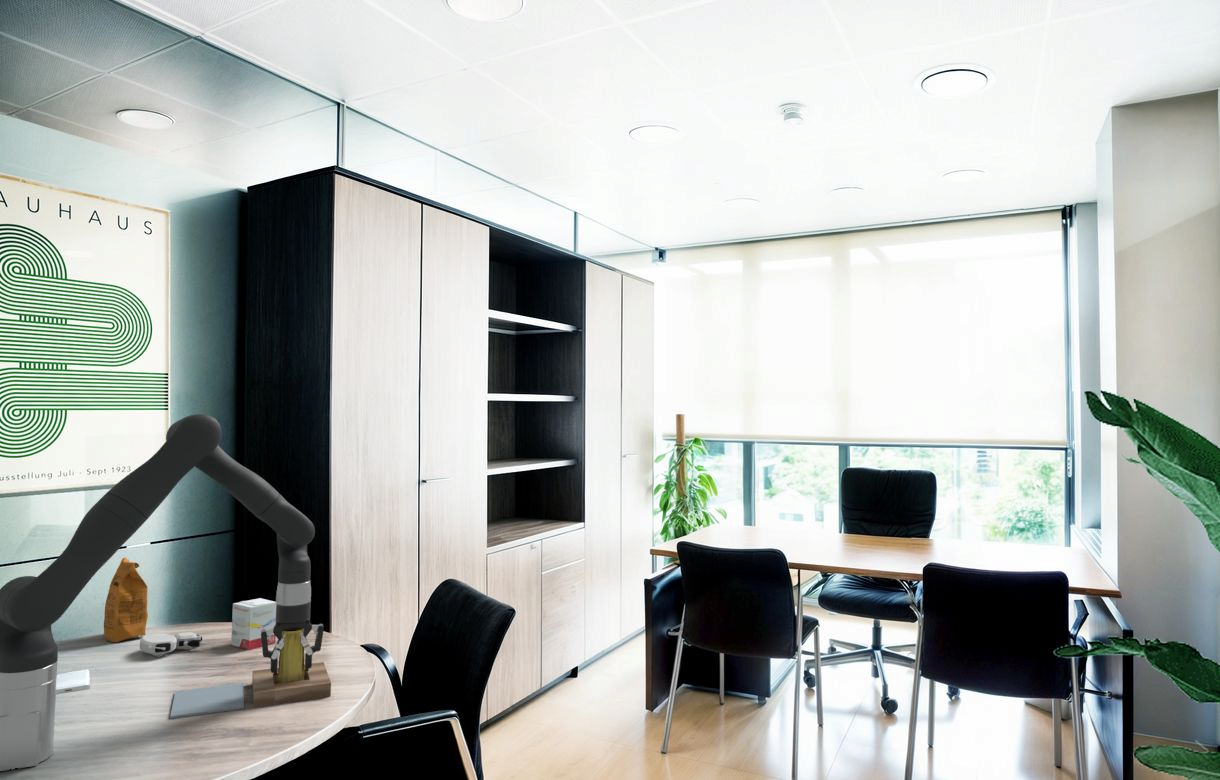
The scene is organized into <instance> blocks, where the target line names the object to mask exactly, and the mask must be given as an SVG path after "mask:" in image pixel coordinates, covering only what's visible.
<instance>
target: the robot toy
mask: <svg viewBox="0 0 1220 780" xmlns="http://www.w3.org/2000/svg"><path fill="white" fill-rule="evenodd" d="M137 638H140V641H139V650H140V651H142V652H143V653H146V654H149V655H152V656H154V657H162V656H164V655H166V653H171V652H174V650H175V649H178V650H186V651H188V650H192V649H193V648H200V646H206V645H207V641H206V640H203V636H202V635H200V634H198V633H194V632H191V631H190V632H188V631H187V632H180V633H177V634H175V635H172V634H169V633H154V634H152V633H151V634H145V635H143V636H138V637H137Z"/></svg>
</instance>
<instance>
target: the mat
mask: <svg viewBox="0 0 1220 780" xmlns="http://www.w3.org/2000/svg"><path fill="white" fill-rule="evenodd" d="M244 696H245V695H244V683H243V682H237V683H230V684H223V685H214V686H206V687H198V688H191V689H183V690H175V691H174V696H173V701H172V705H171V710H170V715H169V719H170V720H171V719H178V718H179V719H180V718H188V717H192V716H201V715H207V714H214V713H221V712H229V711H234V710H235V711H236V710H242V709H245V701H244V698H245V697H244Z"/></svg>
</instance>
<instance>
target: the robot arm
mask: <svg viewBox="0 0 1220 780" xmlns="http://www.w3.org/2000/svg"><path fill="white" fill-rule="evenodd" d="M222 433H223V431H222V427H221V424H220V423H219V421H218V420H217V419H216V418H215V417H213V416H211V415H208V414H205V413H204V414H201V413H199V414H198V413H196V414H191V415H188V416H185V417H183V418H180V419H178V420H177V421H175V422H174V423H172V424H171V425H170V426H169V428H168V429H167V431H166V434H165V442H164V443H163V445H162V446H161V447H160V448H159V449H158V450H157V451H156V452H155V453H154V454H153V455H152V456H151V457H150V458H149V459H148V460H147V461H145V462H144V463H143V464H141V465H140V466H138V467H137V468H136V469H134V470H133V471H131V472H130V473H129V474H127V475H126V476H125V477H123V478H122V479H120V481H118V482H117V483H116V484H114V486H112V487H111V488H110V489H109V490H108V491H107V492H106V493H105V494H104V495H102V497H101V498H100V499H99V500H97V501H96V503H95V504H94V505H92V507H91V508H90V509H89V510H88V511H87V513H86V514H85V515H84V516H83V518H82V520H81V521H80V523H79V525H78V526H77V529H76V530H75V532H74V534H73V535H72V537H71V540H70V541H69V543H68V544H67V546H66V547H65V549H64V550H63V551H62V552H61V553H60V555H59V556H58V557H57V558H56V559H55V560H54V561H53V562H51V564H50V565H48V567H46V568H45V570H43V571H42V572H41V573H40V574H39V575H37V576H35V575H24V576H19V577H16V578H13V579H11V580H9V581H8V582H7V583H5V584H4V585H3V586H2V587H0V772H3V771H10V769H11V770H16V769H15V768H18V769H23V768H28V767H35V766H38V765H39V763H41V762H43V761H45V760H47V759H49V758H50V757H51V756H52V755H53V754H54V740H55V720H56V719H55V717H56V696H57V694H56V678H57V674H58V656H59V648H58V645H57V643H56V641H55V639H54V636H53V632H52V631H53V630H52V625H53V624H55V623H56V622H57V621H58V620H59V619H60V618H61V617H62V616H63V615H64V614H65V613H66V611H67V610H68V609H69V607H70V606H71V605H72V604H73V602H74V601H75V599H77V597H78V596H79V595H80V593H81V592H82V591H83V589H84V588H85V587H86V586H87V584H89V582H90V580H92V578H93V577H94V576H95V575H96V573H97V572H98V571H100V569H101V568H102V567H103V566H104V565H105V564H106V563H107V562H108V561H109V560H110V559H111V558H112V557H113V556H114V555H115V554H116V553H117V552H118V551H119V550H120V548H121V547H122V546H123V545H124V544H125V543H126V542H128V540H129V539H131V537H132V536H134V534H135V533H136V532H137V531H138V530H139V529H140V528H141V527H142V525H144V523H145V522H146V521H148V519H150V517H151V516H152V515H153V513H154V512H155V511H156V510H157V509H158V508H159V506H161V504H162V503H163V502H164V501H165V500H166V498H167V497H168V496H169V495H170V493H171V492H172V491H173V490H174V488H175V487H176V486H177V484H179V483H180V481H182V479H183V478H184V477H185V476H186V475H187V474H188V473H189V472H190V471H191V470H192V469H194V467H195V468H197V469H198V470H199V471H201V472H203V473H204V474H205V475H206V476H208V477H209V478H210V479H212V480H213V481H215V482H216V483H217V484H219V486H221V487H222V488H223V489H225V490H226V491H227V492H228V493H229V494H230V495H231V496H233V498H235V499H236V500H237V501H239V503H241V505H243V506H244V507H245V508H246V509H247V510H248V511H250V512H251V513H252V514H253V516H255V517H256V518H258V519H259V520H260V521H261V522H263V523H266V524H267V525H268V526H269V527H270V528H271V529H272V530H273V531H274V532H275V533H276V543H277V553H278V554H277V555H278V572H277V573H278V576H277V577H278V579H277V589H276V596H275V602H276V623H275V626H274V628H273V629H269V630H265V629H262V630H261V641H262V648H261V650H262V651H261V652H262V656H263V658H268V659H270V669H271V673H274V675H277V668H278V667H279V657H278V656H279V655H280V651H281V650H282V648H283V646H284V638H285V634H284V635H283V636H282V631H297V630H301V629H304V635H303V633H302V631H301V643H302V645H303V647H304V651H305V652H304V664H305V671H309V668H311V666H312V663H313V662H312V661H313V654H314V653H317V652H321V650H322V644H323V636H324V631H325V630H324V629H325V627H324V624H323V623H319V624H312V622H311V604H312V603H311V602H312V599H311V598H312V585H311V570H312V569H311V566H312V564H311V559H310V557H309V555H308V545H309V544H310V543H311V542H312V540H313V539H314V538H315V536H316V535H315V533H316V529H315V525H314V523H313V522H312V521H311V520H310V519H309V518H308V517H307V516H306V515H305V514H303V513H302V512H301V511H300V510H298V509H297V508H296V507H295V506H293V505H292V504H291V503H289V502H288V501H287V500H286V498H285V497H283V495H282V494H280V493H279V491H278V490H276V489H275V488H274V487H273V486H272V485H271V484H270V483H269V482H267V481H266V480H265V479H264V478H262V477H261V476H260V475H259V474H257V473H256V472H254V471H252V470H250V469H249V468H247V467H245V466H243V465H242V464H240V463H239V462H237V461H236V460H235V459H233V457H231V456H230V455H228V454H227V452H225V450H223V449H222V448H221V447H220V445H219V444H220V442H221V440H222ZM311 631H313V634H314V635H315V639H314V645H312V646H311V645H310V642H309V641H308V639H307V636H308V635H309V634H310V632H311ZM272 634H274V635H275V638H277V640H276V642H275V645H274V647H273V649H272V650H269V645H268V642H267V640H269V639H270V638H271V635H272ZM281 644H282V645H281Z"/></svg>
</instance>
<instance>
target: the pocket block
mask: <svg viewBox="0 0 1220 780" xmlns="http://www.w3.org/2000/svg"><path fill="white" fill-rule="evenodd" d="M251 677H252V679H251V680H252V681H251V682H252V683H251V686H252V699H253V707H254V708H257V707H262V706H271V705H277V704H283V703H292V702H298V701H305V700H311V699H317V698H319V699H320V698H327V697H331V694H332V692H331V691H332V682H331V678H330V675H329V674H328V671H327V667H326V665H325V662H323V661H322V662H315V663H313V662H312V666H311V668H309V671H305V663H304V680H303V681H295V682H287V683H280V684H278V667H277V675H274V673H271V668H264V669H257V670H252V676H251Z"/></svg>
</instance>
